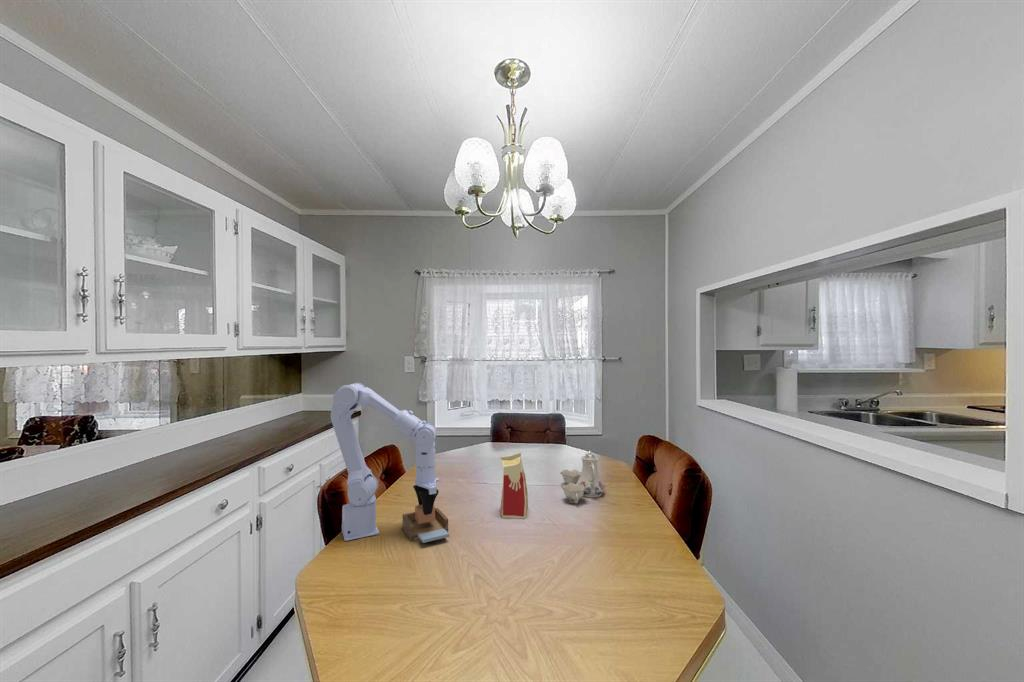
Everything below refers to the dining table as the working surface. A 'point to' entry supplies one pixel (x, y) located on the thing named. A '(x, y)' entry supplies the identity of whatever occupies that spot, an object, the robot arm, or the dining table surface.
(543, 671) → the dining table surface
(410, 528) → the crate
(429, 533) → the panel
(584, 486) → the chinaware
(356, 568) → the dining table surface
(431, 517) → the orange brown block
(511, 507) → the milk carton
